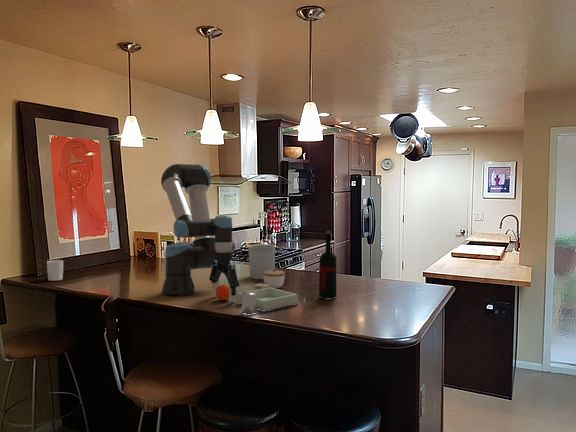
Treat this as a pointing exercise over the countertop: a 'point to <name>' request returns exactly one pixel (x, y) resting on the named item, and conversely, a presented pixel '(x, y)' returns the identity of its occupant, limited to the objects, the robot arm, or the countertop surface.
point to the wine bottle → (327, 271)
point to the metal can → (249, 302)
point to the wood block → (260, 286)
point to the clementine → (222, 292)
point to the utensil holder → (261, 259)
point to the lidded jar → (274, 278)
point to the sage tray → (272, 298)
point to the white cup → (55, 270)
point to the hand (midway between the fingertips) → (223, 299)
